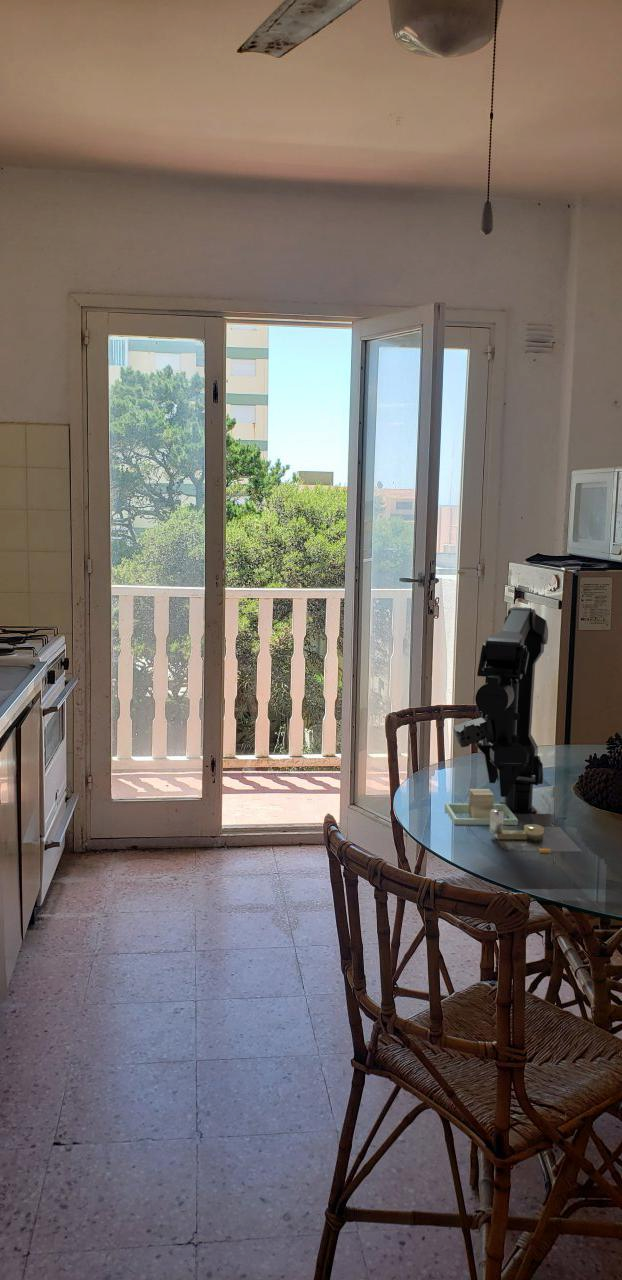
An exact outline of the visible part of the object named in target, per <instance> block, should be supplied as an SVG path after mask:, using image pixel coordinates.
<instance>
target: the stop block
mask: <svg viewBox="0 0 622 1280" xmlns="http://www.w3.org/2000/svg"><path fill="white" fill-rule="evenodd" d="M468 791H469V792H468V804H469V811H468V815H469V817H470V818H490V813H491V810H492V809H493V804H494V800H495V798H494V797H495V794H494V793H493V792H492V791H491V790H490V788H469V789H468Z"/></svg>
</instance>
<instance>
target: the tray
mask: <svg viewBox="0 0 622 1280" xmlns="http://www.w3.org/2000/svg"><path fill="white" fill-rule="evenodd" d="M493 809H499V810H503V811H504V815H506V816H507V817H508V818H503V826H506V825H507V826H517V825H518V824H519V819H518V818H517V817H516V815H515V813H512V812H511V810H510V809H509V808H508V807H507V805H506V804H499V803H493ZM468 811H469V803H444V814H448V816H449V818H450V819H451V821H452V823H453V825H462V826H463V825H467V826H468V825H470V826H471V825H473V826H475V825H476V826H477V825H480V826H481V825H482V826H483V825H484V826H485V825H488V826H490V818H471V817H469V818H468V817H465V818H464V817H460V818H459V817H457V816H456V814H459V815H461V814H468ZM468 815H469V814H468Z"/></svg>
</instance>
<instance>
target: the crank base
mask: <svg viewBox="0 0 622 1280" xmlns="http://www.w3.org/2000/svg"><path fill="white" fill-rule="evenodd" d="M543 827H544V835H543V840H539V841H533V840H528V839H497V838H496V837H495V834H493V833H491V834H492V835H493V837H494V838H495V840H496V841H497V842H498V843H499V845H500V846H501V848H502V849H503V851H504V852H534V853H535V852H537V853H539V854H551V853H552V852H554V853H555V852H557V853H559V852H560V853H561V852H562V853H563V852H564V853H566V852H568V853H569V852H570V853H572V852H573V853H576V852H577V853H578V852H579V853H583V850H582V849H581V848H580V847H579V846H578V845H577V844H576V843H575V842H574V841H573V840H572V838H571V837H570V836H569V835H568V834H567V833H566V832H565V831H564V829H562V827H560V826H543ZM487 829H489V830H490V826H487ZM503 830H517V831H524V826H503Z"/></svg>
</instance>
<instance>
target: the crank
mask: <svg viewBox="0 0 622 1280" xmlns="http://www.w3.org/2000/svg"><path fill="white" fill-rule="evenodd" d="M504 815H505V814H504V811H503V810H499V809H492V810H491V813H490V825H489V827H490V829H489V832H490V833H491V834H492V833H493V834H495V837H496V838H497V839H528V840H533V841H539V840H543V835H544V827H545V826H542V825H540V824H535V823H529V824H528V823H527V824H524V825H523V827H524V831H517V830H503V827H504V825H503V819H505V818H504ZM493 834H492V835H493ZM495 837H494V838H495ZM496 838H495V839H496ZM497 839H496V840H497Z"/></svg>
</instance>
